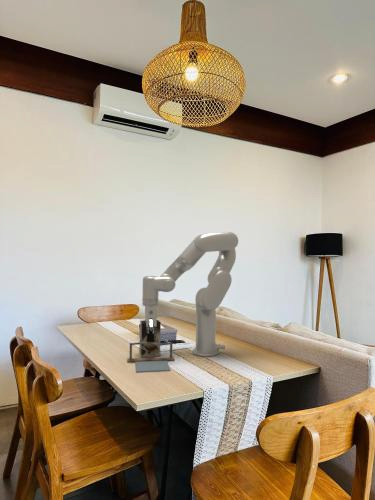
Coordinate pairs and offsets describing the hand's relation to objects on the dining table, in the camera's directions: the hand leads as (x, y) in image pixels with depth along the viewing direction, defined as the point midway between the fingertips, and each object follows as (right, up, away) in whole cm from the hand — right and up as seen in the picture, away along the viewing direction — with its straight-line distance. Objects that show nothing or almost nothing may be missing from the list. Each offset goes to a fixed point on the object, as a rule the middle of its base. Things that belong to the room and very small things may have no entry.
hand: (149, 339), depth 163 cm
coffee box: (0, -8, 0) cm, 8 cm away
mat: (+3, -7, -16) cm, 18 cm away
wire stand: (+1, -8, -8) cm, 11 cm away
